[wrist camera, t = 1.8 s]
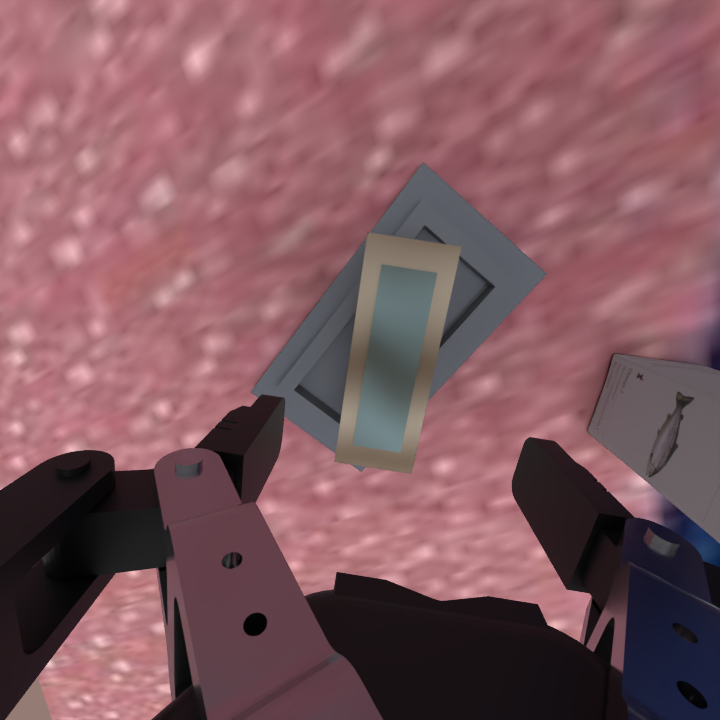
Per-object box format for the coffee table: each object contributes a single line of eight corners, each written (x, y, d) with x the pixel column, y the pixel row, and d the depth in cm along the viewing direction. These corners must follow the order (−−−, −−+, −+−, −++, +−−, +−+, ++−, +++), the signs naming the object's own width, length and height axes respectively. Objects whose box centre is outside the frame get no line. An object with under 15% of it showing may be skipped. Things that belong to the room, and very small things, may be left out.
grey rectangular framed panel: (421, 166, 25) (426, 156, 22) (539, 273, 27) (556, 274, 24) (255, 387, 30) (244, 398, 28) (361, 464, 32) (360, 482, 29)
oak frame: (370, 238, 24) (367, 232, 18) (441, 249, 24) (462, 246, 18) (343, 419, 28) (334, 463, 22) (404, 429, 28) (411, 475, 22)
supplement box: (610, 351, 28) (788, 420, 16) (702, 363, 28) (951, 444, 16) (582, 432, 30) (719, 548, 18) (667, 444, 30) (863, 569, 18)
